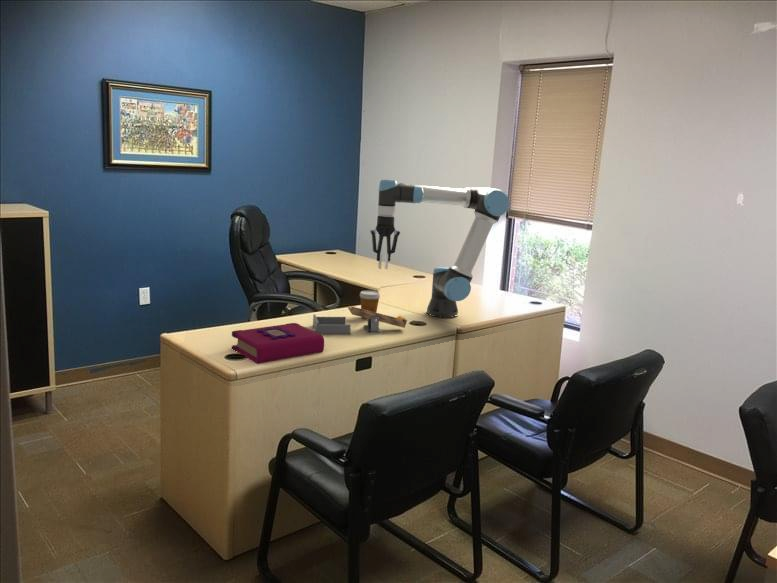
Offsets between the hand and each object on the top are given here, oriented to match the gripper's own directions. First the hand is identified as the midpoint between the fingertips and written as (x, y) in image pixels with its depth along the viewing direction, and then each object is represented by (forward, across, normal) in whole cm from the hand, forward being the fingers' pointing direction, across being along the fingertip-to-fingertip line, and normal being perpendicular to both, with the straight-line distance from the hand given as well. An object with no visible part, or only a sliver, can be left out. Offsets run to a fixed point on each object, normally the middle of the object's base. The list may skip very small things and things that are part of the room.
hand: (382, 268), depth 288 cm
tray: (+24, +24, +14) cm, 37 cm away
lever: (+20, +4, +11) cm, 23 cm away
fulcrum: (+24, +6, +14) cm, 29 cm away
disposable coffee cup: (+25, +4, -6) cm, 26 cm away
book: (+25, +48, +42) cm, 69 cm away
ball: (+20, -6, +14) cm, 25 cm away
